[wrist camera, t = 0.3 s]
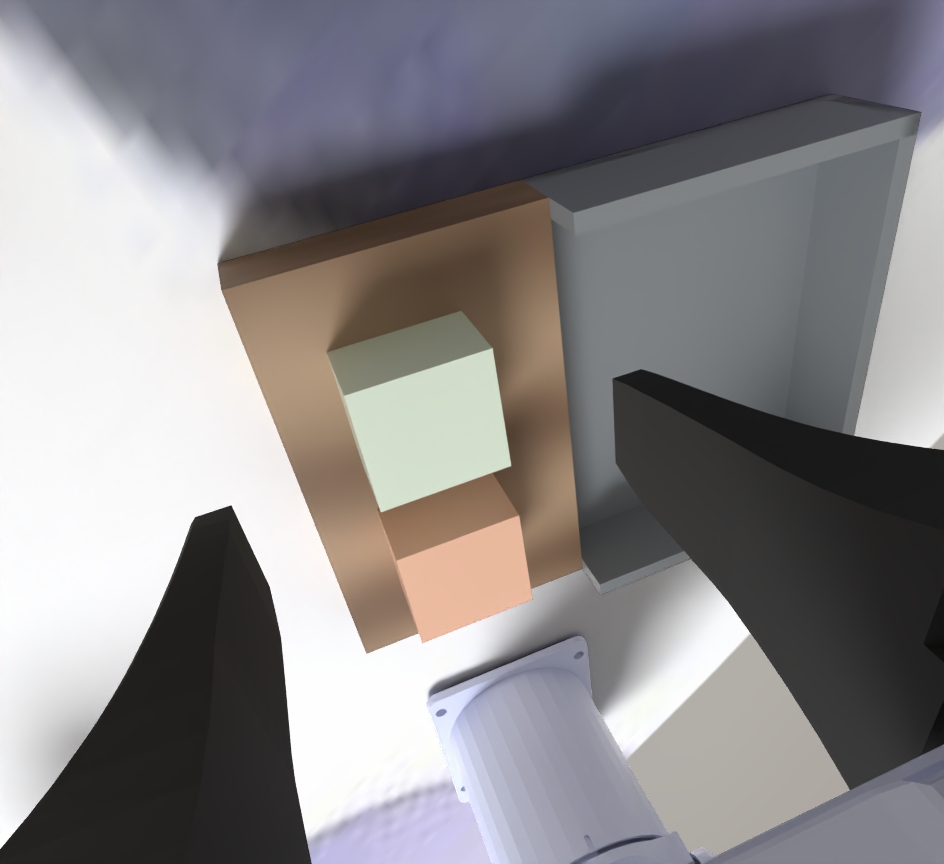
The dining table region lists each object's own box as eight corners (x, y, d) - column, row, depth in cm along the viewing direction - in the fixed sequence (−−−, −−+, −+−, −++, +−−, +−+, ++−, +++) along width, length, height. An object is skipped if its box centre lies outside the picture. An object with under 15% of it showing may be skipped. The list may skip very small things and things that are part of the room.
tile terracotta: (505, 551, 26) (532, 599, 24) (403, 590, 26) (422, 643, 24) (490, 469, 24) (519, 515, 22) (377, 509, 23) (396, 560, 21)
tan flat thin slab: (560, 536, 30) (582, 568, 28) (355, 615, 28) (366, 653, 27) (520, 179, 21) (548, 197, 19) (217, 263, 19) (221, 290, 18)
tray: (782, 452, 32) (840, 498, 29) (560, 536, 30) (600, 595, 27) (831, 93, 23) (921, 111, 20) (520, 179, 21) (573, 212, 18)
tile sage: (481, 422, 23) (511, 465, 21) (362, 462, 22) (380, 512, 20) (461, 310, 20) (492, 348, 18) (326, 352, 20) (343, 395, 18)
